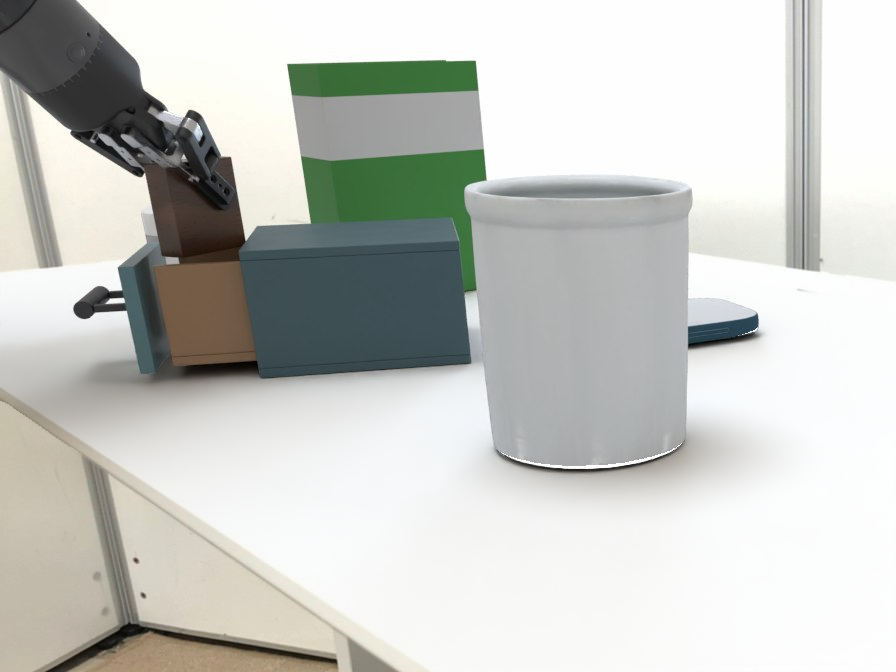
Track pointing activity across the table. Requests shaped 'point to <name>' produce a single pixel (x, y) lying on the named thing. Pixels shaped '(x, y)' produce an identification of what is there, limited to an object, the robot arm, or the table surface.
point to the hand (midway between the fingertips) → (215, 201)
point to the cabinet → (355, 296)
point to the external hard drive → (718, 319)
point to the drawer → (180, 308)
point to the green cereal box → (390, 142)
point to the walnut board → (192, 213)
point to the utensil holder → (583, 314)
